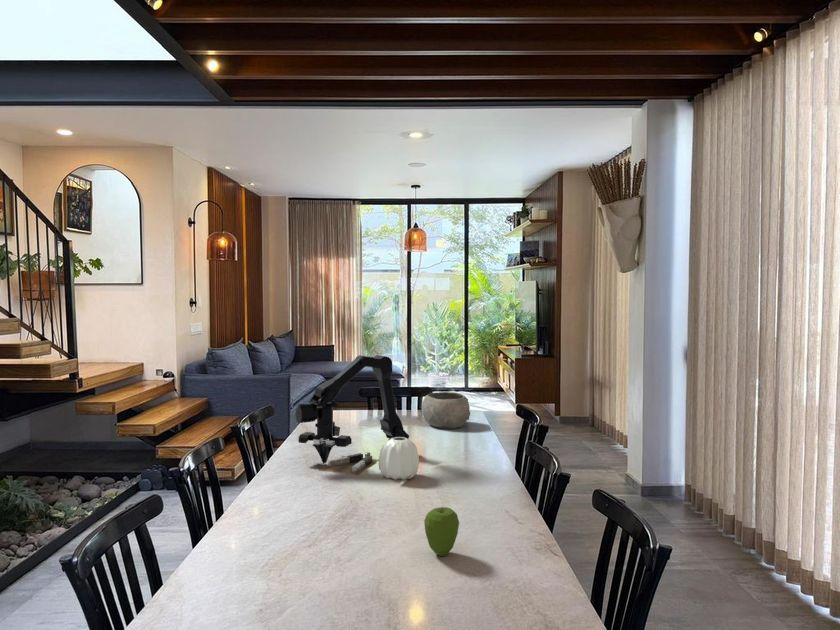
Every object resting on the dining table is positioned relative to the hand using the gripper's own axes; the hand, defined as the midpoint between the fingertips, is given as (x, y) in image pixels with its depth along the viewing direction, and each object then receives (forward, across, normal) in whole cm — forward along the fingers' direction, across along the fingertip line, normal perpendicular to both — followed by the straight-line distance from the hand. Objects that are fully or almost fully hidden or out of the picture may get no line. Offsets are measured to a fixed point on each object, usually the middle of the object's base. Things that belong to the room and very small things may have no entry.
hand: (324, 462), depth 216 cm
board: (+1, -9, -3) cm, 9 cm away
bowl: (+2, -23, -82) cm, 85 cm away
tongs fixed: (+1, -13, -4) cm, 14 cm away
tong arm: (+1, -6, -4) cm, 8 cm away
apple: (+2, -59, +56) cm, 82 cm away
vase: (+2, -29, +2) cm, 29 cm away
